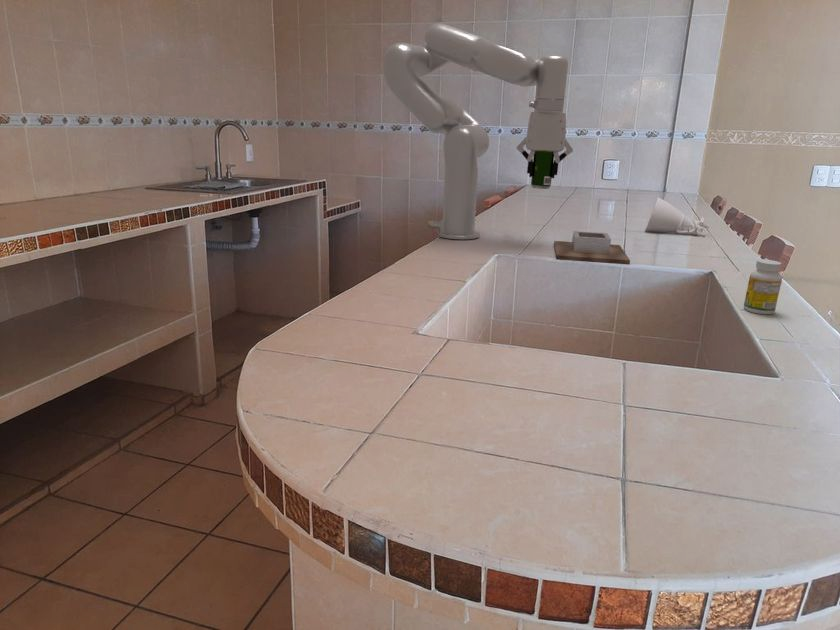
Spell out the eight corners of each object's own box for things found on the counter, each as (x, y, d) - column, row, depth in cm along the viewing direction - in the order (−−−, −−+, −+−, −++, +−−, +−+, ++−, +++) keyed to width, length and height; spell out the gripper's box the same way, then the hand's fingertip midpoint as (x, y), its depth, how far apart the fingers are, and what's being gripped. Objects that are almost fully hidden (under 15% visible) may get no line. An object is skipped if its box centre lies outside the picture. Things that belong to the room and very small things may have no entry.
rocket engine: (718, 206, 189) (660, 190, 194) (709, 233, 184) (651, 215, 189) (705, 229, 199) (651, 213, 204) (697, 255, 194) (642, 238, 199)
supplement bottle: (771, 316, 111) (782, 266, 108) (739, 310, 114) (750, 261, 111) (777, 310, 115) (788, 261, 112) (746, 304, 118) (756, 257, 115)
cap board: (556, 259, 153) (558, 239, 151) (554, 244, 171) (555, 226, 170) (629, 264, 150) (632, 244, 148) (619, 248, 168) (621, 230, 167)
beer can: (554, 188, 164) (559, 143, 160) (541, 189, 161) (546, 142, 157) (539, 186, 168) (543, 141, 164) (526, 186, 165) (530, 141, 161)
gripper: (515, 105, 156) (509, 176, 162) (583, 108, 153) (574, 180, 159) (516, 106, 163) (510, 174, 169) (581, 108, 160) (572, 177, 166)
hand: (541, 176), depth 164 cm, fingers closed on beer can, 5 cm apart
